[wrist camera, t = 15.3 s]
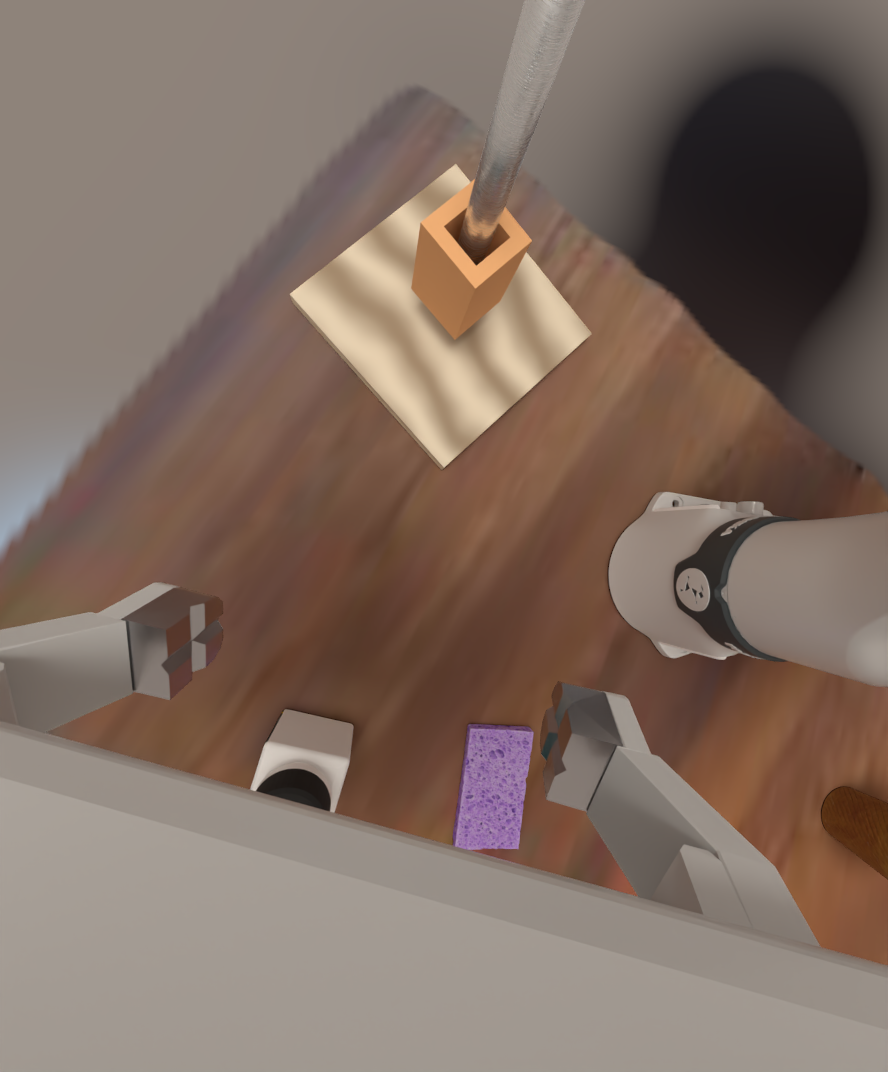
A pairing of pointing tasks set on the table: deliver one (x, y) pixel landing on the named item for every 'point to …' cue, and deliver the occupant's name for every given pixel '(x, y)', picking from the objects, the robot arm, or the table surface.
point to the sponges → (492, 787)
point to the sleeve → (464, 265)
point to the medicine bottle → (305, 760)
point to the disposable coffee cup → (859, 825)
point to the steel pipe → (516, 114)
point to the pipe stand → (436, 332)
